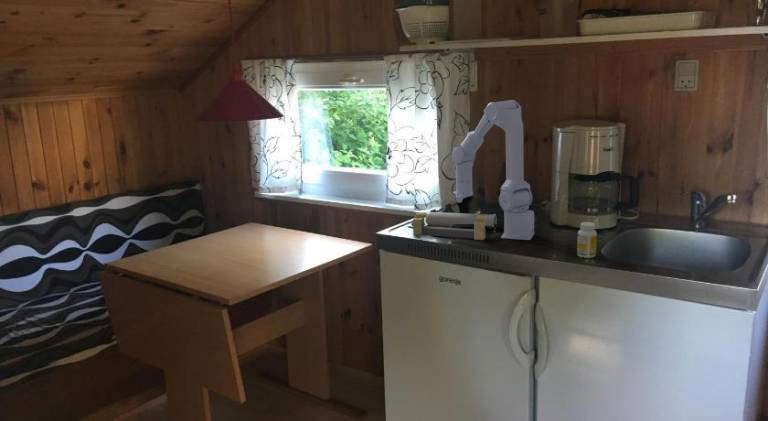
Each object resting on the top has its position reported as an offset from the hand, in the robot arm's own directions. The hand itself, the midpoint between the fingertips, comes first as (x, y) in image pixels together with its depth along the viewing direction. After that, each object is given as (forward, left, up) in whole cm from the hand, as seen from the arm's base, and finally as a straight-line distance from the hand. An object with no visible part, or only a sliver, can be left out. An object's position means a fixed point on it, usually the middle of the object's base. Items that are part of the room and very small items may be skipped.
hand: (464, 217), depth 229 cm
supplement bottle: (-45, +28, -2) cm, 53 cm away
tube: (0, +7, -2) cm, 7 cm away
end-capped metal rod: (0, +19, -1) cm, 19 cm away
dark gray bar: (0, +19, -1) cm, 19 cm away
